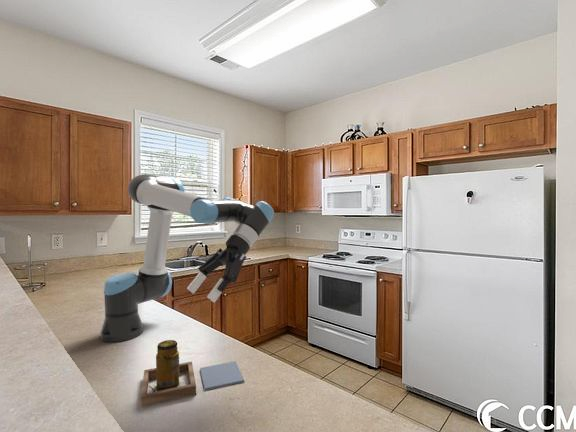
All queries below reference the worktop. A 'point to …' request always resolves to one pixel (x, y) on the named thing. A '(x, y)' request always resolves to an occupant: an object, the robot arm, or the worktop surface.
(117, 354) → the worktop surface
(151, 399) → the pocket
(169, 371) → the condiment
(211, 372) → the mat
